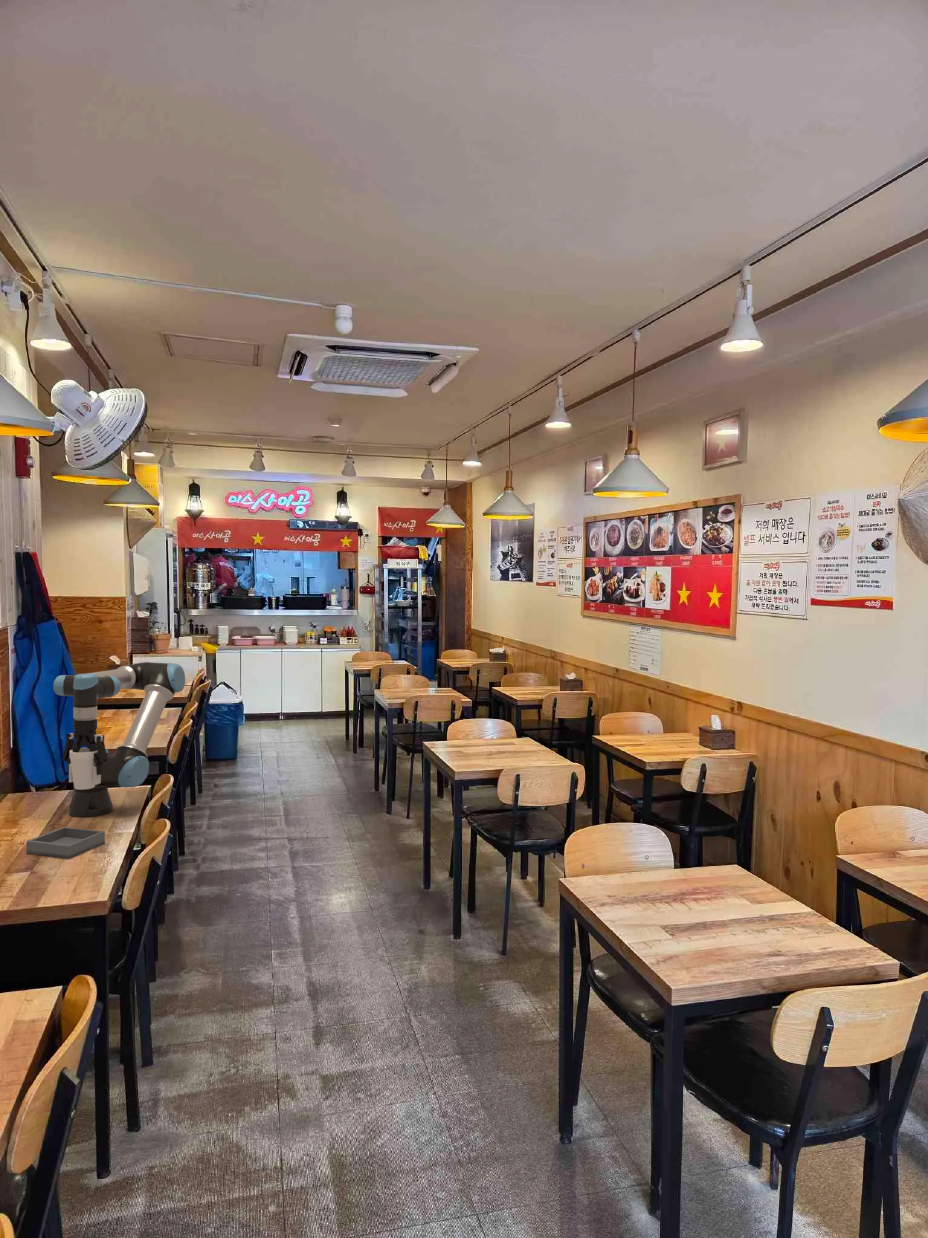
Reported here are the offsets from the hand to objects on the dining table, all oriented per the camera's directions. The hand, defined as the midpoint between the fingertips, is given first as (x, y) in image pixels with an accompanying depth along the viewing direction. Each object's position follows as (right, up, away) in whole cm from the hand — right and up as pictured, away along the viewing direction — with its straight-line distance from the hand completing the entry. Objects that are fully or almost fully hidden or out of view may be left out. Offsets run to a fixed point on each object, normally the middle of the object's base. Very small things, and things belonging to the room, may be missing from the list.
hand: (84, 782), depth 264 cm
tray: (+2, -18, -17) cm, 25 cm away
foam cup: (0, -2, 0) cm, 2 cm away
